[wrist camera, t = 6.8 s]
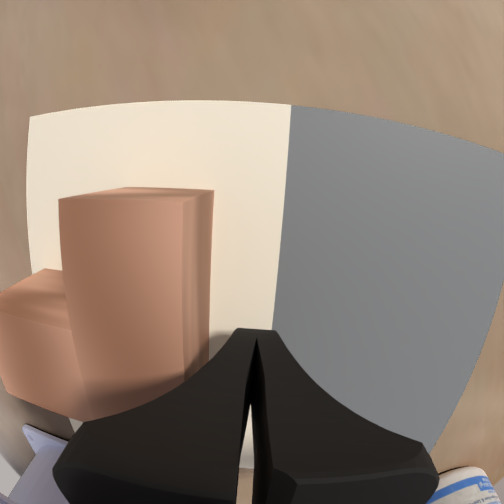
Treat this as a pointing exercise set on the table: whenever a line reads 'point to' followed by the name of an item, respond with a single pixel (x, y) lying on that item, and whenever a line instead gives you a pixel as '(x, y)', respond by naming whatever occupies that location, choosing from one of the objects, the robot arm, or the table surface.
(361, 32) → the table surface
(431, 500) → the supplement tub
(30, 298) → the t block
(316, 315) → the board
